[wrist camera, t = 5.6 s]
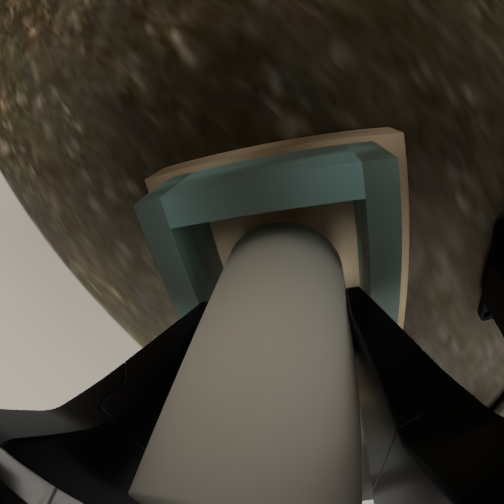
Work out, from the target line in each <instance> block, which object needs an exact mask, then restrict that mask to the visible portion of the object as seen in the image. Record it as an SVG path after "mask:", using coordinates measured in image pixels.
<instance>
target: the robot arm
mask: <svg viewBox="0 0 504 504" xmlns="http://www.w3.org/2000/svg"><path fill="white" fill-rule="evenodd" d="M503 228H504V218H503V219H500V220H499V221H498V222H497V223H496V225H495V229H494V237H493V244H492V251H491V257H490V262H489V266H488V271H487V276H486V281H485V285H484V290H483V294H482V299H481V303H480V307H479V311H478V315H479V317H480V319H481V320H482V321H485V320H489V319H494V321H495V322H496V324H497V326H498V328H499V329H500V331H501V333H502V335H503V337H504V230H503V231H502V229H503ZM345 291H346V298H347V304H348V311H349V318H350V324H351V329H352V335H353V342H354V350H355V360H356V369H357V380H358V391H359V404H360V409H361V415H362V421H363V427H364V433H365V439H366V445H367V452H368V459H369V466H370V474H371V482H372V490H373V500H374V504H504V417H502V416H500V415H498V414H496V413H494V412H493V411H491V410H490V409H488V408H487V407H486V406H485V405H483V404H482V403H481V402H480V401H479V400H478V399H476V398H475V397H474V396H473V395H472V394H470V393H469V392H468V391H467V390H466V389H464V388H463V387H462V386H461V385H460V384H458V383H457V382H456V381H455V380H454V379H453V378H451V377H450V376H449V375H448V374H447V373H446V372H445V371H443V370H442V369H441V368H440V367H439V366H438V365H437V364H436V363H435V362H434V361H433V360H432V359H431V358H430V357H429V356H428V355H427V354H426V353H425V351H422V348H421V347H420V346H419V345H418V344H417V343H416V342H415V341H414V340H413V339H412V338H411V337H410V336H409V335H408V334H407V333H406V332H405V331H404V330H403V329H402V328H401V327H400V326H399V325H398V324H397V323H396V322H395V321H394V320H393V319H392V318H391V317H390V316H389V315H388V314H387V313H386V312H385V311H384V310H383V309H382V308H381V307H380V306H379V305H378V304H377V303H376V302H375V301H374V300H373V299H372V298H371V297H370V296H369V295H368V294H367V293H366V292H365V291H363V290H362V289H361V288H360V287H359V286H356V287H348V288H346V289H345ZM208 302H209V301H205V302H201V303H200V304H198V305H197V306H196V307H195V308H193V309H192V310H191V311H190V312H188V313H187V314H186V315H184V316H183V317H182V318H181V319H179V320H178V321H177V322H176V323H174V324H173V325H172V326H170V327H169V328H168V329H167V330H165V331H164V332H163V333H162V334H160V335H159V336H158V337H156V338H155V339H154V340H153V341H151V342H150V343H149V344H147V345H146V346H145V347H144V348H142V349H141V350H140V351H139V352H137V353H136V354H135V355H133V356H132V357H131V358H130V359H128V360H127V361H126V362H125V363H123V364H122V365H121V366H119V367H118V368H117V369H115V370H114V371H113V372H111V373H110V374H109V375H107V376H106V377H105V378H103V379H102V380H100V381H99V382H97V383H96V384H94V385H93V386H92V387H90V388H88V389H87V390H85V391H84V392H82V393H81V394H79V395H78V396H76V397H75V398H73V399H72V400H70V401H68V402H67V403H65V404H64V405H62V406H60V407H58V408H55V409H52V410H46V411H29V410H28V411H27V410H5V409H0V504H141V503H139V502H138V501H136V500H135V499H133V498H132V497H131V496H130V495H129V493H128V492H129V490H130V487H131V485H132V482H133V480H134V477H135V475H136V472H137V470H138V467H139V465H140V462H141V460H142V457H143V455H144V452H145V450H146V447H147V445H148V443H149V440H150V438H151V435H152V433H153V430H154V428H155V426H156V423H157V421H158V418H159V416H160V414H161V411H162V409H163V406H164V404H165V402H166V399H167V397H168V395H169V392H170V390H171V387H172V385H173V383H174V380H175V378H176V376H177V373H178V371H179V369H180V366H181V364H182V362H183V359H184V357H185V355H186V352H187V350H188V348H189V345H190V343H191V341H192V339H193V336H194V334H195V332H196V329H197V327H198V325H199V323H200V320H201V318H202V316H203V313H204V311H205V309H206V307H207V304H208Z"/></svg>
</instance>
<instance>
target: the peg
mask: <svg viewBox="0 0 504 504" xmlns="http://www.w3.org/2000/svg"><path fill="white" fill-rule="evenodd" d="M345 289H346V285H345V279H344V273H343V268H342V262H341V259H340V256H339V254H338V252H337V250H336V249H335V247H334V246H333V245H332V243H331V242H330V241H329V240H328V239H327V238H326V237H324V236H323V235H322V234H321V233H319V232H317V231H316V230H314V229H312V228H309V227H307V226H304V225H301V224H297V223H291V222H276V223H269V224H265V225H262V226H259V227H257V228H255V229H253V230H251V231H249V232H248V233H246V234H245V235H244V236H243V237H242V238H240V239H239V241H238V242H237V243H236V244H235V246H234V247H233V249H232V251H231V253H230V255H229V257H228V260H227V262H226V264H225V266H224V268H223V271H222V273H221V275H220V277H219V280H218V282H217V284H216V286H215V289H214V291H213V293H212V295H211V298H210V300H209V302H208V304H207V307H206V309H205V311H204V313H203V316H202V318H201V320H200V323H199V325H198V327H197V329H196V332H195V334H194V336H193V339H192V341H191V343H190V345H189V348H188V350H187V352H186V355H185V357H184V359H183V362H182V364H181V366H180V369H179V371H178V373H177V376H176V378H175V380H174V383H173V385H172V387H171V390H170V392H169V395H168V397H167V399H166V402H165V404H164V406H163V409H162V411H161V414H160V416H159V418H158V421H157V423H156V426H155V428H154V430H153V433H152V435H151V438H150V440H149V443H148V445H147V447H146V450H145V452H144V455H143V457H142V460H141V462H140V465H139V467H138V470H137V472H136V475H135V477H134V480H133V482H132V485H131V487H130V490H129V492H128V493H129V495H130V496H131V497H132V498H133V499H135V500H136V501H138V502H139V503H141V504H362V441H361V420H360V404H359V391H358V380H357V369H356V360H355V350H354V342H353V335H352V329H351V324H350V318H349V311H348V304H347V298H346V291H345Z"/></svg>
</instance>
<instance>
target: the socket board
mask: <svg viewBox="0 0 504 504" xmlns="http://www.w3.org/2000/svg"><path fill="white" fill-rule="evenodd" d="M145 183H146V186H147V189H148V192H149V193H148V194H147V195H145V196H144V197H143V198H141V199H140V200H139V201H137V202H136V203H135V204H133V206H134V209H135V212H136V215H137V217H138V220H139V223H140V225H141V228H142V231H143V233H144V236H145V238H146V241H147V243H148V246H149V248H150V251H151V253H152V256H153V258H154V261H155V263H156V265H157V268H158V270H159V273H160V275H161V277H162V280H163V282H164V284H165V287H166V289H167V291H168V293H169V296H170V298H171V300H172V302H173V304H174V307H175V309H176V311H177V313H178V315H179V317H180V319H181V318H182V317H183V316H184V315H186V314H187V313H188V312H190V311H191V310H192V309H193V308H195V307H196V306H197V305H198V304H200V303H201V302H205V301H209V300H210V298H211V295H212V293H213V291H214V289H215V286H216V284H217V282H218V280H219V277H220V275H221V273H222V271H223V268H224V266H225V264H226V262H227V260H228V257H229V255H230V253H231V251H232V249H233V247H234V246H235V244H236V243H237V242H238V241H239V239H240V238H242V237H243V236H244V235H245V234H246V233H248V232H249V231H251V230H253V229H255V228H257V227H259V226H262V225H265V224H269V223H276V222H291V223H297V224H301V225H304V226H307V227H309V228H312V229H314V230H316V231H317V232H319V233H321V234H322V235H323V236H324V237H326V238H327V239H328V240H329V241H330V242H331V243H332V245H333V246H334V247H335V249H336V250H337V252H338V254H339V256H340V259H341V262H342V268H343V273H344V279H345V285H346V288H348V287H356V286H359V287H360V288H361V289H362V290H363V291H365V292H366V293H367V294H368V295H369V296H370V297H371V298H372V299H373V300H374V301H375V302H376V303H377V304H378V305H379V306H380V307H381V308H382V309H383V310H384V311H385V312H386V313H387V314H388V315H389V316H390V317H391V318H392V319H393V320H394V321H395V322H396V323H397V324H398V325H399V326H400V327H401V328H402V329H403V327H404V318H405V308H406V297H407V284H408V267H409V190H408V173H407V160H406V149H405V140H404V133H403V132H401V131H398V130H396V129H393V128H390V127H381V128H370V129H361V130H352V131H343V132H335V133H328V134H320V135H314V136H307V137H301V138H295V139H289V140H283V141H277V142H272V143H267V144H261V145H256V146H251V147H246V148H242V149H237V150H232V151H228V152H224V153H219V154H215V155H211V156H207V157H203V158H199V159H195V160H191V161H187V162H183V163H179V164H176V165H172V166H168V167H165V168H163V169H161V170H160V171H158V172H156V173H155V174H153V175H151V176H150V177H148V178H146V179H145ZM360 420H361V441H362V504H374V500H373V490H372V482H371V474H370V466H369V459H368V452H367V445H366V439H365V433H364V427H363V421H362V415H361V409H360Z"/></svg>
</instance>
